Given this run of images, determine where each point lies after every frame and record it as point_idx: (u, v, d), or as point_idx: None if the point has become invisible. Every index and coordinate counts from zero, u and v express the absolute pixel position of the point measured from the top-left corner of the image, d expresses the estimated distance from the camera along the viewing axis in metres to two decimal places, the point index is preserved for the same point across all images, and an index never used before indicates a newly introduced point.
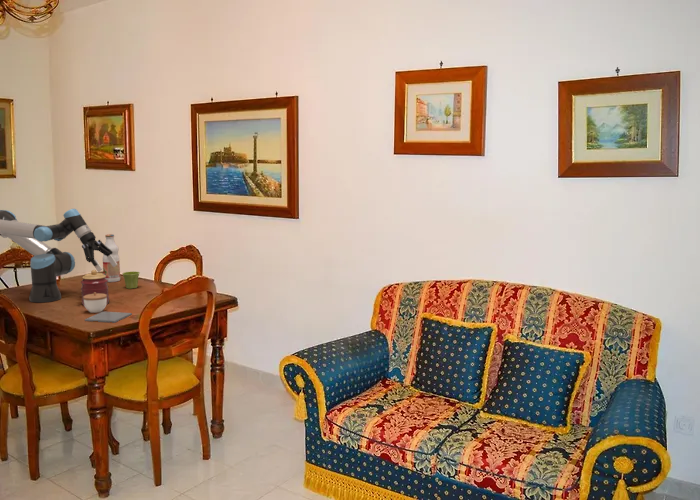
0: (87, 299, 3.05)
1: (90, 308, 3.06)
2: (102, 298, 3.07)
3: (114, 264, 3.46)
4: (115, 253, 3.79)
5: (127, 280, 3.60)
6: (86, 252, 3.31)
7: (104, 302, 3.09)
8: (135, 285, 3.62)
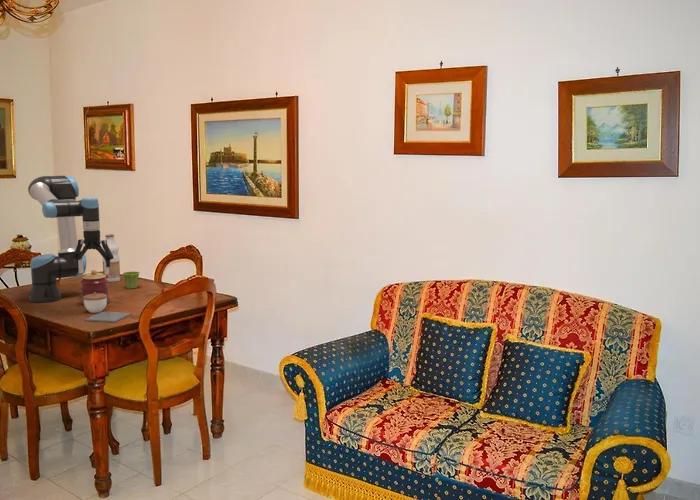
0: (87, 299, 3.05)
1: (90, 308, 3.06)
2: (102, 298, 3.07)
3: None
4: (115, 253, 3.79)
5: (127, 280, 3.60)
6: None
7: (104, 302, 3.09)
8: (135, 285, 3.62)
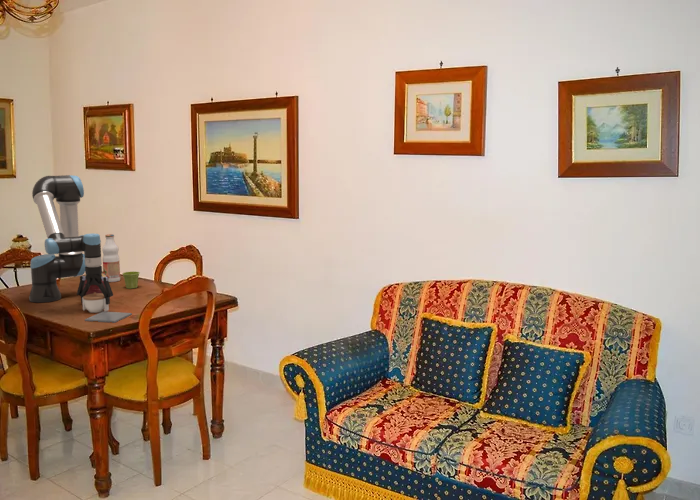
0: (87, 299, 3.05)
1: (90, 308, 3.06)
2: (102, 298, 3.07)
3: None
4: (115, 253, 3.79)
5: (127, 280, 3.60)
6: None
7: None
8: (135, 285, 3.62)
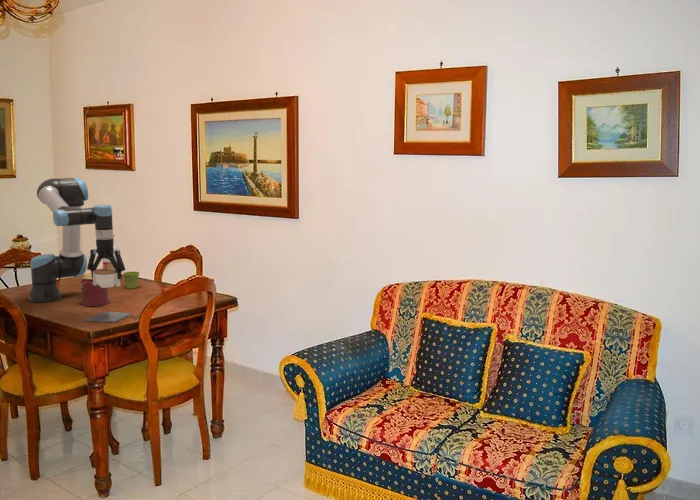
0: (98, 273, 2.90)
1: (101, 283, 2.91)
2: (114, 272, 2.93)
3: None
4: None
5: (127, 280, 3.60)
6: None
7: None
8: (135, 285, 3.62)
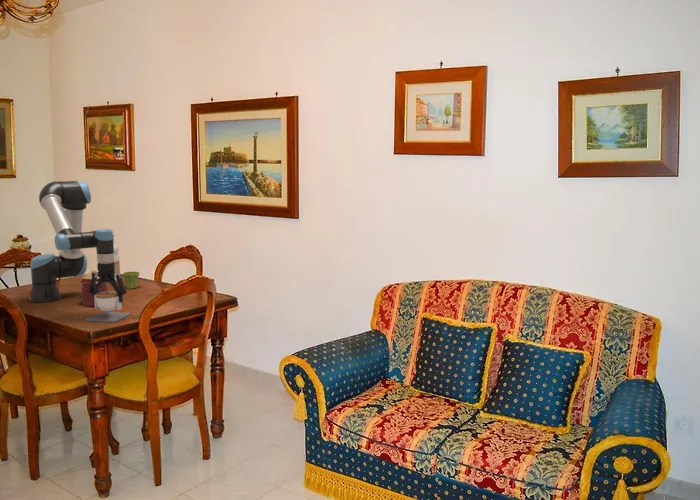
0: (99, 297, 2.92)
1: (102, 306, 2.93)
2: (115, 296, 2.94)
3: None
4: (115, 253, 3.79)
5: (127, 280, 3.60)
6: None
7: None
8: (135, 285, 3.62)
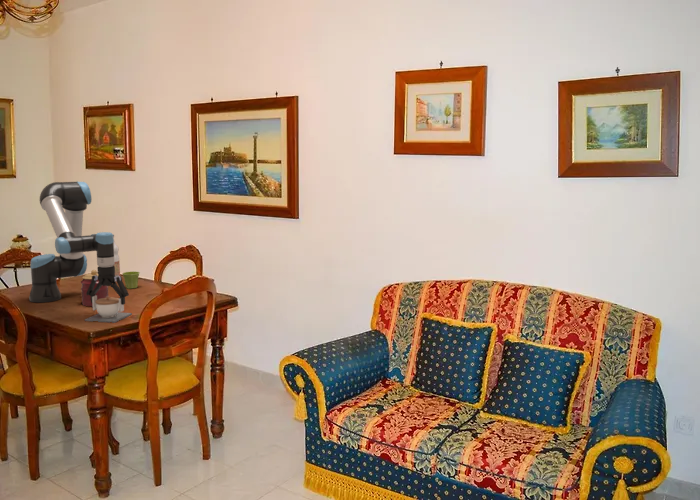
0: (100, 303, 2.92)
1: (103, 313, 2.94)
2: (115, 302, 2.95)
3: None
4: (115, 253, 3.79)
5: (127, 280, 3.60)
6: None
7: (117, 306, 2.96)
8: (135, 285, 3.62)
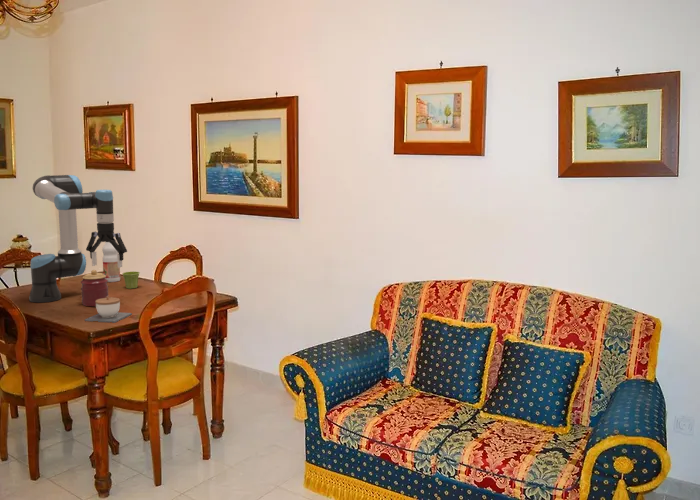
0: (100, 303, 2.92)
1: (103, 313, 2.94)
2: (115, 302, 2.95)
3: None
4: (115, 253, 3.79)
5: (127, 280, 3.60)
6: None
7: (117, 306, 2.96)
8: (135, 285, 3.62)
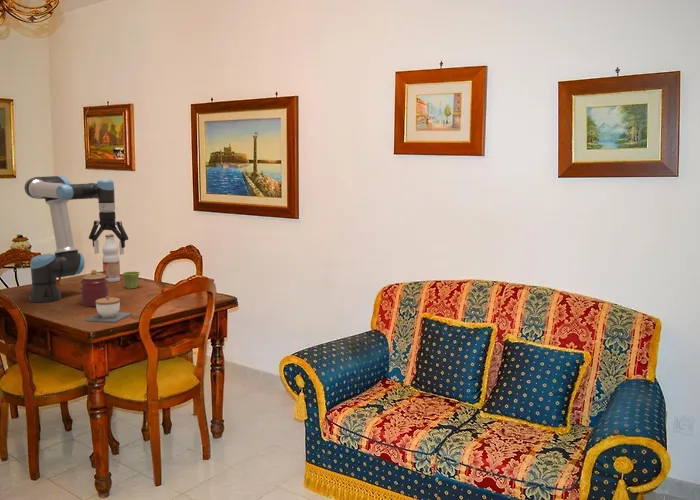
0: (100, 303, 2.92)
1: (103, 313, 2.94)
2: (115, 302, 2.95)
3: None
4: (115, 253, 3.79)
5: (127, 280, 3.60)
6: None
7: (117, 306, 2.96)
8: (135, 285, 3.62)
